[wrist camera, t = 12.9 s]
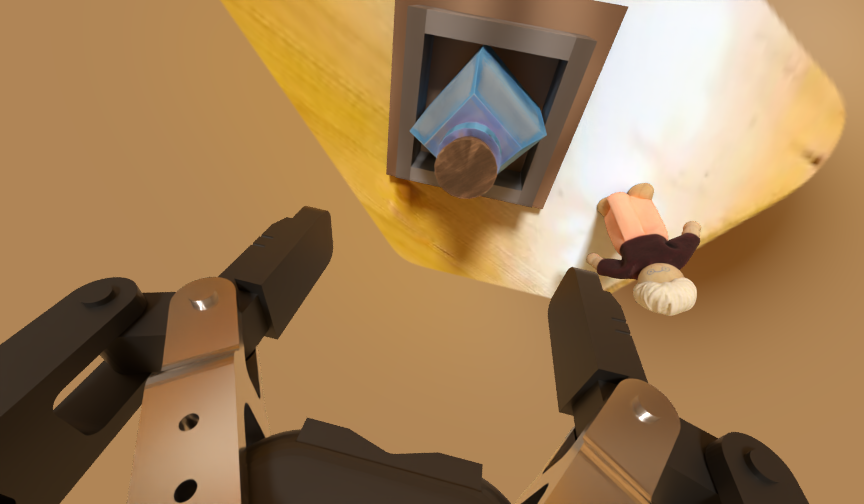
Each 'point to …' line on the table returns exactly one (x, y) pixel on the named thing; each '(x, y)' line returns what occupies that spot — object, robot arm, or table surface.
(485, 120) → the perfume bottle
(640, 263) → the grandmother figurine
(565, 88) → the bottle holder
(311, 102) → the table surface
